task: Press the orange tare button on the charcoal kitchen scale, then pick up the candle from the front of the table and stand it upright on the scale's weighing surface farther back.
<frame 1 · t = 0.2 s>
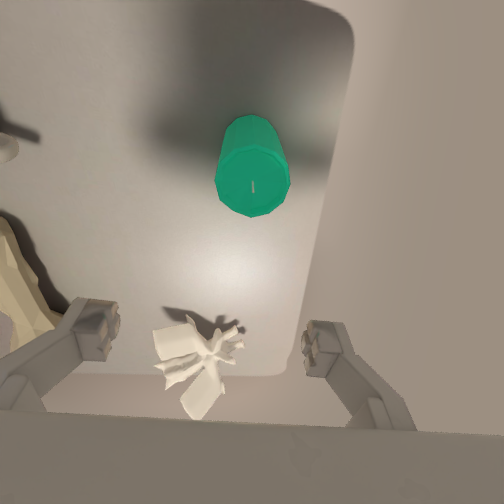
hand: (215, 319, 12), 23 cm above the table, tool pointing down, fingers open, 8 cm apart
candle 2: (39, 275, 41), on the table
candle: (250, 144, 31), on the table
figurine: (202, 333, 50), on the table
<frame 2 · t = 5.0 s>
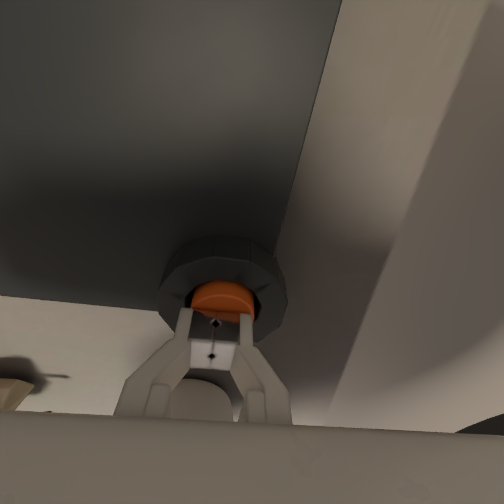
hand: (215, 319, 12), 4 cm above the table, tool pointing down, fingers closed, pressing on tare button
tare button: (223, 305, 13), point 3 cm above the table, slide at -0.5 cm, touching gripper
cup: (187, 400, 24), on the table
scale: (131, 160, 12), on the table
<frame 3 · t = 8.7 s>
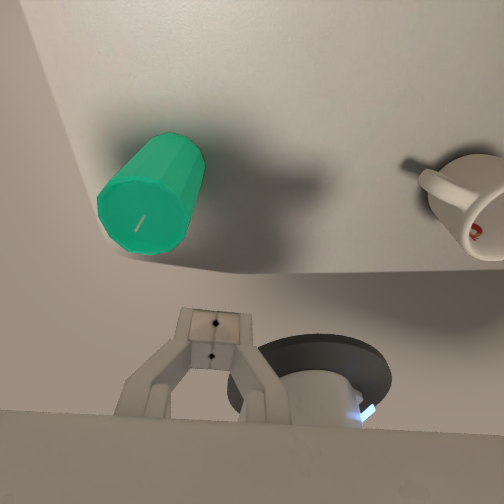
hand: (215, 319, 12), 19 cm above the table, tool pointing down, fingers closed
candle: (174, 164, 28), on the table
cup: (444, 178, 29), on the table
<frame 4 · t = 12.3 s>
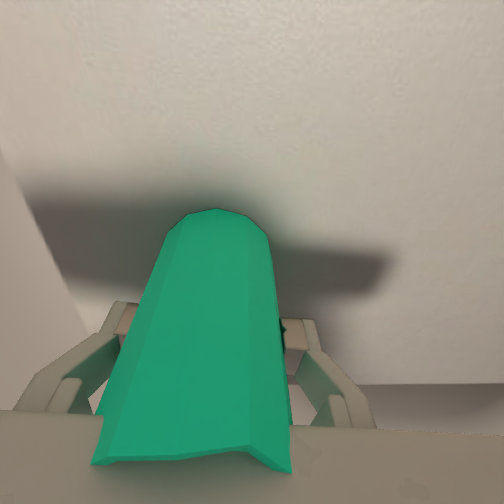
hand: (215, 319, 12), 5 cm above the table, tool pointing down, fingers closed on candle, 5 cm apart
candle: (218, 254, 16), on the table, touching gripper
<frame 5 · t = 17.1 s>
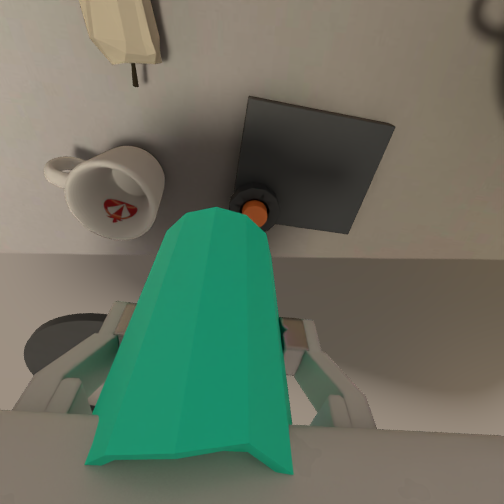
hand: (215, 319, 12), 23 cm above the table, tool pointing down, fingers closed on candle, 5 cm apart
tare button: (254, 214, 32), point 3 cm above the table, slide at 0.1 cm
candle: (217, 253, 16), point 19 cm above the table, touching gripper
cup: (125, 167, 32), on the table
scale: (303, 171, 33), on the table
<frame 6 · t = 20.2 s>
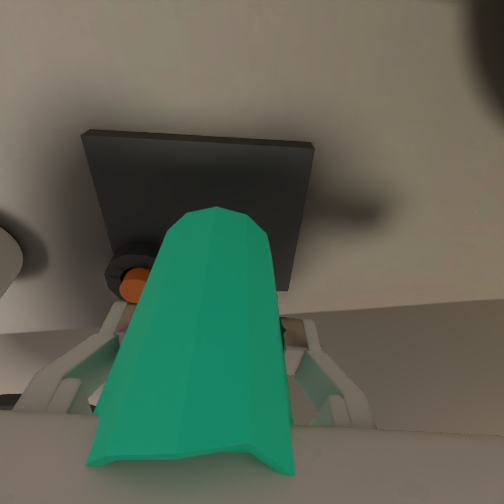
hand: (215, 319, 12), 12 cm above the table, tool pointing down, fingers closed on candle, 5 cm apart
tare button: (140, 286, 23), point 3 cm above the table, slide at 0.1 cm
candle: (218, 252, 16), point 8 cm above the table, touching gripper
scale: (205, 218, 23), on the table
when the fingers open (6 cm above the table, at t = 22.4 s): candle stays where it is, resting on scale.
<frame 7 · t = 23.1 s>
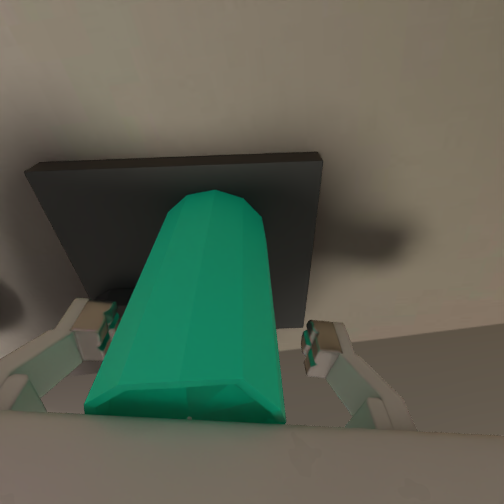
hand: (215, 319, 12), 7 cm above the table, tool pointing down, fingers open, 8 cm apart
candle: (215, 235, 17), point 1 cm above the table, touching scale
scale: (196, 253, 19), on the table
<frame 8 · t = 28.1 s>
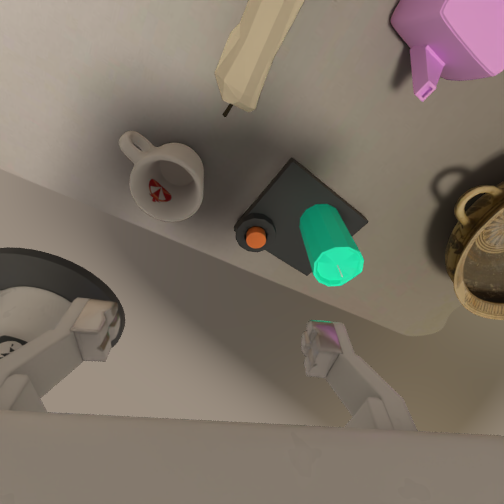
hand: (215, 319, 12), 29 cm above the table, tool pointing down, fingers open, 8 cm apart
teapot: (453, 0, 29), on the table
tare button: (256, 237, 41), point 3 cm above the table, slide at 0.1 cm
candle: (319, 221, 42), point 1 cm above the table, touching scale
ceramic bowl: (499, 215, 44), on the table
cup: (171, 157, 37), on the table
scale: (299, 221, 43), on the table
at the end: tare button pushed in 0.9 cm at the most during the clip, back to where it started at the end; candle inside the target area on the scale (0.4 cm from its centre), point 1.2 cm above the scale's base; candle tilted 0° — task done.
